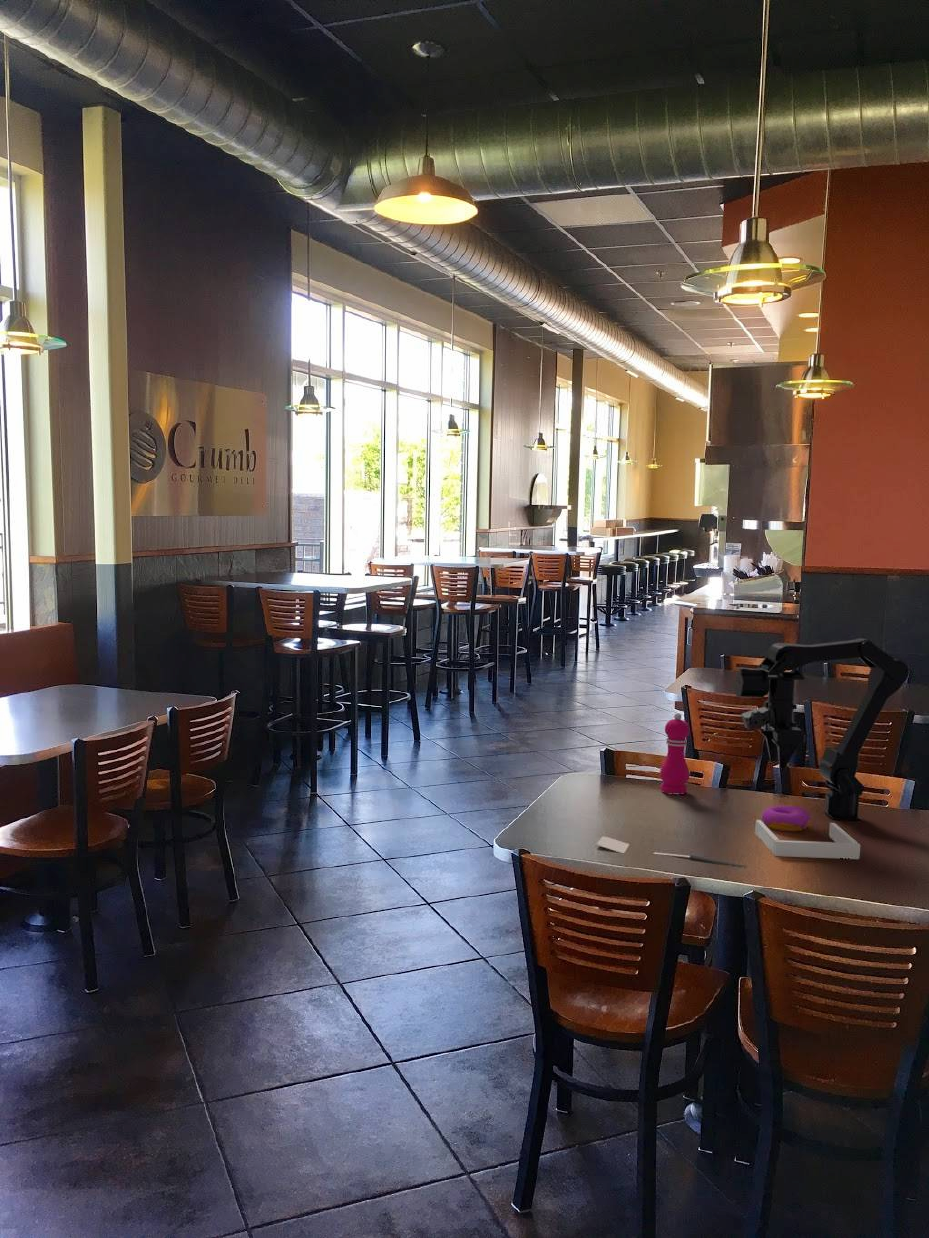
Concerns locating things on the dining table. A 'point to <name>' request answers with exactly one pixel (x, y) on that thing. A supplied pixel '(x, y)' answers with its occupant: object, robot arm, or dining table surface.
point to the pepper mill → (675, 757)
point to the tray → (811, 844)
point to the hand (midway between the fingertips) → (777, 764)
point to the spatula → (623, 847)
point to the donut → (786, 818)
